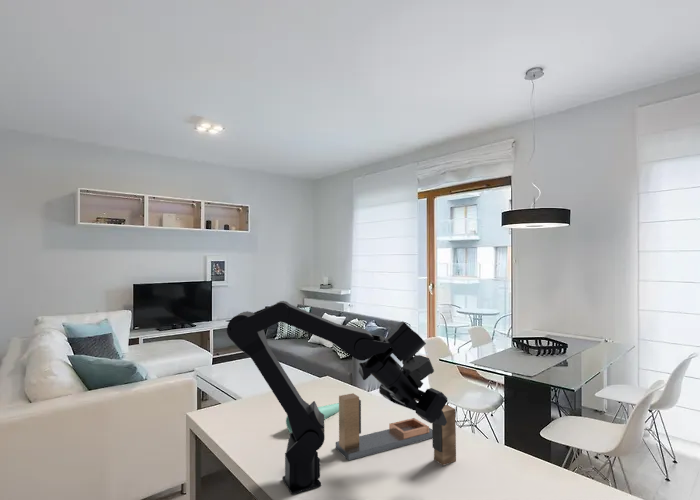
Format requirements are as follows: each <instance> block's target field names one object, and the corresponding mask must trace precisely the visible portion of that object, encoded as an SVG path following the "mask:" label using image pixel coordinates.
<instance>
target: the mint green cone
mask: <svg viewBox="0 0 700 500" xmlns="http://www.w3.org/2000/svg"><path fill="white" fill-rule="evenodd" d="M317 407H318V409H319V411H320V412H321V413H322V414H324V420H326V419H328V418H330V417H331V416H334V415H335V414H336V413H339V402H338V403H333V404H332V403H331V404H328V405H322V406H317ZM285 425H286V428H287V429H288V432H289V433H290V434H291V433H292V429H291V426H290V422H289V419H288V416H287V415H286V418H285Z"/></svg>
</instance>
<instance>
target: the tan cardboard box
mask: <svg viewBox="0 0 700 500" xmlns="http://www.w3.org/2000/svg"><path fill="white" fill-rule="evenodd" d="M442 411H443V413H444V416H445V418H446V420H447V423H446V425H445V426H443V425H439V424H435V423H431V424H432V425H431V426H432V427H431V429H432V438H431V439H432V441H431V442H432V448H433V459H434V461H436V462H437V463H438V464H440V465H442V466H445V465H449V464H451V463H455V462H457V443H456V441H457V438H456V437H457V432H456V431H457V430H456V429H457V428H456V425H457V424H456V423H457V422H456V420H457V419H456V408H455V407H452V406H450V405H448V404H445V406H444V407H443V409H442Z"/></svg>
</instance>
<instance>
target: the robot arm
mask: <svg viewBox="0 0 700 500" xmlns="http://www.w3.org/2000/svg"><path fill="white" fill-rule="evenodd" d="M279 323H284V324H286V325H289V326H291V327H294V328H297V329H298V330H301V331H304V332H306V333H309V334H311V335H313V336H316V337H317V338H320V339H323V340H325V341H327V342H330V343H332V344H333V345H335V346H336V347H337V348H339V349H341V350H342V351H343V352H345V353H346V354H348V355H349V356H351V357H352V358H354V359H355V360H357V361H361V362H360V363H359V364H358V365H359V367H358V373H359V375H360V377H361V378H362V380H363V381H366V380H367V379H368V378H370V376H373V377H374V378H375V379H376V381H378V382H379V383H380V385H379V388H378V389H379V391H378V393H379V394H380V395H381V396H382V398H385V399H387V400H388V401H390V402H392V403H393V404H395V405H399V406H401V407H404V408H407V409H410V410H412V411H415V413H416V415H418V417H420V419H422V420H423V421H425V422H427V423H430V424H432V423H435V424H439V425H443V426H445V425H446V423H447V420H446V418H445V416H444V413H443V411H442V409H443V407H444V406H445V405H447V403H448V397H447V396H446V394H444V393H443V392H442V391H439V390H437V389H435V388H433V387H429V388H426V390H425V391H423V390H420V389H421V388H422V387H423V385H424V382H423V381H422V380H425V378H427V377H429V375H432V374H433V373H434V372H435V370H434V367H433V364H432V362H431V359H430V358H429V357H427V356H423V355H421V354H417V353H419V352H420V350H421V349H423V348H424V347H425V345H426V344H427V343H426V342H425V340H424V339H423V338H422V337H421V336H420V335H419V334H418V333H417V332H416V331H414V330H413V329H412V328H411V327H410V326H409V325H408V324H407V323H406V322H405V321H401V322H400V323H399V324H398V325H397V327H396V328H395V329H394V330H393V331H392V332H391V333H390V334H388V336H383V335H377V334H371V332H370V331H369V330H367V329H365V328H363V327H362V328H361V327H357V326H352V325H346V324H340V323H336V322H334V321H331V320H328V319H326V318H324V317H322V316H319V315H316V314H314V313H312V312H310V311H307V310H304V309H302V308H300V307H297V306H295V305H292V304H291V303H289V302H288V301H285V300H279V301H277V302H276V303H275V304H272V305H270V306H268V307H265V308H262V309H259V310H256V311H254V312H253V311H248V310H247V311H243V312H240V313H238V314H236V315H235V316H233V317H232V318H231V319H230V320H229V322H228V323H227V327H226V334H227V336H228V338H229V340H231V342H233V343H234V345H235V346H236V347H237V348H238V349H239V350H240V351H241V352H242V353H244V354H245V355H247V356H248V357H249V358H250V359H251V360H252V362H253V363H254V364H255V367H256V368H257V370H258V371H259V373H260V374H261V376H262V378H264V380H265V382H266V384H267V385H268V387H269V389H270V390H271V391H272V393H273V394H274V396H275V398H276V399H277V401H278V403H279V404H280V405H281V407H282V409H283V410H284V412H285V413H286V417H287V416H288V419H289V422H290V426H291V429H292V433H291V432H290V434H289V437H288V441H287V446H286V450H285V453H284V475H283V476H282V477H281V479H282V481H283V483H284V484H285V486H286V488H287V489H288V490H289V492H290V494H291V495H295V494H298V493H302V492H305V491H309V490H313V489H317V488H318V487H321V486H322V482H321V481H320V480H319V479H321V458H320V457H319V452H318V451H319V450H320V449H321V448H322V446H323V445H324V443H325V439H326V438H325V419H324V414H322V413H321V412H320V411H319V409H318V407H319V406H318V405H317V402H316V401H315V400H314V401H312V402H311V403H310V404H309V403H308V402H306V401H305V400H304V399H303V398H302V396H301V395H300V393H299V391H298V390H297V389H296V387H295V385H294V384H293V382H292V381H291V379H290V377H289V376H288V374H287V373H286V371H285V369H284V368H283V366H282V365H281V363H280V361H279V360H278V358H277V357H276V355H275V354H274V352H273V350H272V349H271V348H270V346H269V344H268V340H267V337H266V333H265V329H268V328H270V327H272V326H275V325H277V324H279ZM392 354H393V355H394V357H396V358H397V360H398V361H399V362H401V363H402V364H401V365H402V366H401V365H400V364H399V362H397V361H396V360H395V359H394V357H392ZM362 361H363V362H362Z"/></svg>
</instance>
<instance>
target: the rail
mask: <svg viewBox="0 0 700 500" xmlns="http://www.w3.org/2000/svg"><path fill="white" fill-rule="evenodd" d="M338 403H339V412H338V441H335V449H336V450H337V451H338V452H339V453H340V454H341V455H342V456H343V457H344V458H345V459H346V460H347V461H353V460H356V459H360V458H363V457H364V458H365V457H367V456H371V455H375V454H378V453H382V452H385V451H389V450H393V449H397V448H400V447H404V446H407V445H411V444H415V443H419V442H422V441H423V442H424V441H426V440H431V439H432V427H430V426H429V425H427V424H426V423H424V422H422V421H420V420H418V419H416V418H415V417H413V418H412V417H411V418H407V419H404V420H399V421H395V422H392V423H389V427H388V429H385V430H384V429H383V430H380V431H376V432H371V433H367V434H363V435H360V434H362V400H361V399H360V397H359V396H358V395H356V394H355V393H354V392H353V393H347V394H342V395H338Z"/></svg>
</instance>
